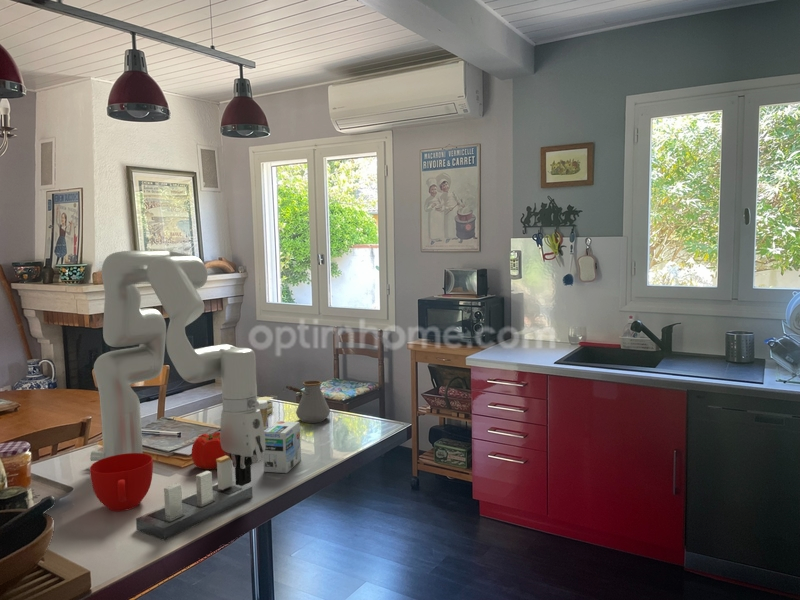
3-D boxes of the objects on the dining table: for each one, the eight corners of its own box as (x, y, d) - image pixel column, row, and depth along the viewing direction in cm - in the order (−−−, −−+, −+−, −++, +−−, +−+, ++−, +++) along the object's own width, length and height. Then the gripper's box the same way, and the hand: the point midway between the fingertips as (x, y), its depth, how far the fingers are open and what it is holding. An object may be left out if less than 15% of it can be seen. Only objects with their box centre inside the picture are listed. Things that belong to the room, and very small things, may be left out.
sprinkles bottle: (269, 447, 174) (267, 402, 173) (253, 449, 173) (251, 403, 172) (269, 443, 178) (267, 398, 177) (253, 444, 177) (251, 399, 176)
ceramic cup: (89, 530, 124) (86, 483, 123) (94, 499, 140) (91, 458, 139) (156, 518, 129) (153, 473, 128) (154, 489, 145) (152, 449, 144)
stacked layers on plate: (261, 409, 217) (260, 394, 217) (281, 412, 214) (281, 396, 213) (243, 417, 208) (243, 401, 208) (265, 419, 204) (264, 403, 204)
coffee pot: (307, 413, 209) (306, 371, 208) (336, 417, 205) (335, 374, 203) (271, 431, 190) (270, 385, 188) (302, 435, 185) (301, 387, 184)
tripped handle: (222, 490, 136) (221, 460, 136) (217, 488, 137) (216, 459, 137) (233, 485, 139) (232, 456, 138) (228, 483, 140) (226, 454, 139)
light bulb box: (287, 474, 153) (285, 433, 153) (262, 472, 155) (261, 431, 154) (301, 459, 164) (300, 421, 163) (279, 458, 165) (277, 420, 164)
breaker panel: (164, 540, 119) (162, 495, 118) (136, 530, 124) (134, 486, 123) (252, 496, 139) (251, 458, 139) (225, 489, 144) (224, 451, 143)
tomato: (241, 463, 162) (240, 432, 161) (208, 476, 152) (207, 443, 152) (215, 456, 167) (214, 426, 167) (182, 469, 158) (180, 437, 158)
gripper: (276, 403, 133) (279, 484, 134) (229, 396, 140) (232, 472, 142) (251, 412, 126) (255, 496, 128) (203, 403, 134) (207, 482, 136)
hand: (243, 483), depth 135 cm, fingers closed
